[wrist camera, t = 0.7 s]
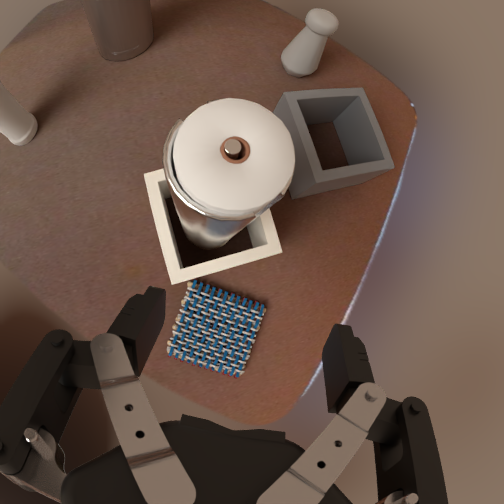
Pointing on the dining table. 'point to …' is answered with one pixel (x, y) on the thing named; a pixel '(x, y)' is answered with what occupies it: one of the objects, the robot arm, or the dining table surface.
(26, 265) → the dining table surface
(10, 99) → the bottle
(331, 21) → the salt shaker
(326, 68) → the dining table surface
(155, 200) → the white open box
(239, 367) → the woven mat
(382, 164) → the grey open box
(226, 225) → the silver tall cylinder
